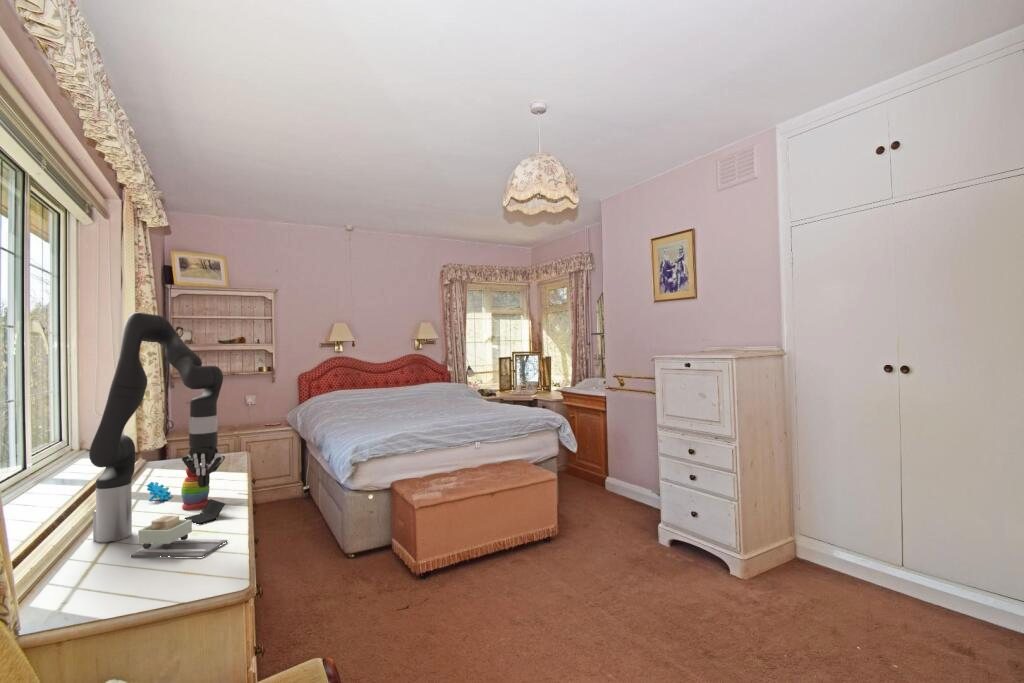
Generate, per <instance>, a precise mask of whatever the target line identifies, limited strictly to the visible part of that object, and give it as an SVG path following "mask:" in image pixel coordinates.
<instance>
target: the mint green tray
mask: <svg viewBox="0 0 1024 683" xmlns="http://www.w3.org/2000/svg"><path fill="white" fill-rule="evenodd" d="M192 527H193V523H192V520H185V519H179V525H178V526H176V527H174V528H172V529H170V530H152V524H150V525H147V526H146V527H144V528H141V529H139V530H138V541H137V542H138V544H141V545H142V547H143V548H144V549H148V548H150V547H151V544H163V548H164V549H168V548H170V547H171V542H173V541H175V540H177V539H181V540H185V539H188V538H189V534H191V533H192V532H193V528H192ZM143 548H142V549H143Z"/></svg>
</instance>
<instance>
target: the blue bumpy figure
mask: <svg viewBox="0 0 1024 683" xmlns="http://www.w3.org/2000/svg"><path fill="white" fill-rule="evenodd" d="M159 484H160V483H159V482H157V481H156V482H154V481H151V482H150V483H148V484H147V485H146V487H147V488H146V490H147V491H148V492H149V495H150V496H151V497H150V498H149V499H148V501H149V502H151V501H153V500H154V499H158V498H159V501H166V500H167V501H168V500H169V499H170V498H172V496H171V493H172V492H171V491H169V489H170V487H169V486H166V487H165V485H164V484H163V483H162V484H160V485H159ZM164 487H165V488H164Z"/></svg>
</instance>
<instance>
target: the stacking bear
mask: <svg viewBox="0 0 1024 683" xmlns="http://www.w3.org/2000/svg"><path fill="white" fill-rule="evenodd" d="M185 472H186V473H185V474H186V476H185V478H184V480H183V483H182V485H181V486H182V487H181V490H180V491H181V498H182V502H183V503H182V506H181V509H182V510H184V511H194V510H201V509H202V510H203V509H204V507H205V506H206V504H207V503H208V501H209V500H210V499H208V497H209V494H210V484H209V485H208V486H207V487H204V488H201V487H199V486H198V475H197V474H195V473H191V472H190V470H189V469H188V467H187V466H186V468H185Z"/></svg>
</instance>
